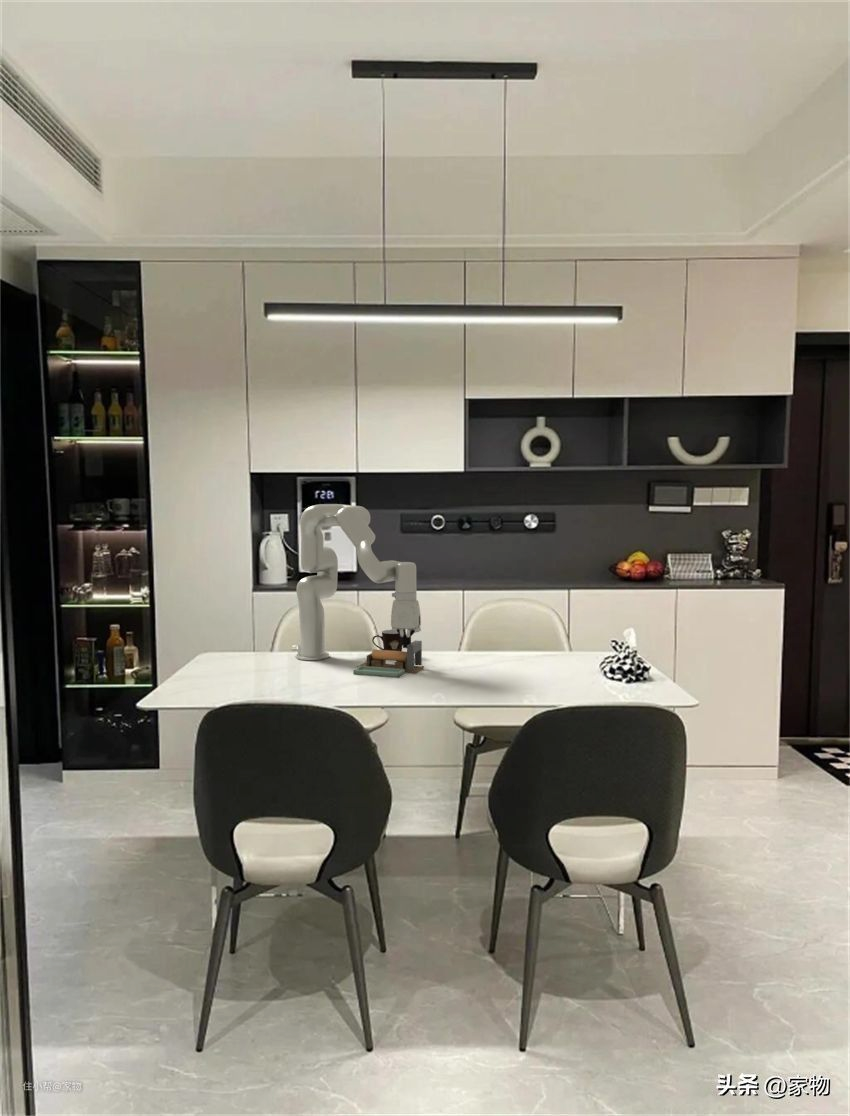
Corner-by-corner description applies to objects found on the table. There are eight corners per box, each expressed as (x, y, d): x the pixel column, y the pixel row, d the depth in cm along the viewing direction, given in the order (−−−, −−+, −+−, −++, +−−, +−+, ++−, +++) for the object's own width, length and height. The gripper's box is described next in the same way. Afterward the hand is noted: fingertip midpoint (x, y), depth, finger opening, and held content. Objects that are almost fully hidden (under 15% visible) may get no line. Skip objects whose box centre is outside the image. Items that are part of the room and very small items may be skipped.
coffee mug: (406, 655, 307) (406, 630, 306) (400, 659, 299) (400, 634, 298) (378, 653, 310) (378, 628, 309) (371, 658, 302) (371, 632, 301)
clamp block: (357, 669, 284) (356, 655, 283) (365, 664, 291) (364, 651, 290) (416, 673, 276) (416, 659, 276) (423, 669, 283) (423, 655, 283)
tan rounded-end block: (371, 660, 284) (371, 650, 283) (375, 658, 287) (375, 648, 287) (405, 662, 279) (405, 652, 279) (408, 660, 283) (408, 650, 282)
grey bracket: (407, 669, 277) (406, 645, 276) (415, 664, 285) (415, 640, 284) (413, 670, 276) (413, 645, 275) (421, 665, 284) (421, 640, 283)
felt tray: (353, 674, 276) (353, 669, 276) (360, 670, 282) (360, 665, 282) (398, 677, 270) (398, 673, 270) (405, 673, 277) (405, 669, 276)
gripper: (382, 597, 278) (383, 648, 280) (422, 599, 273) (422, 650, 275) (390, 594, 285) (390, 644, 287) (429, 596, 280) (429, 646, 282)
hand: (406, 647), depth 281 cm, fingers closed
